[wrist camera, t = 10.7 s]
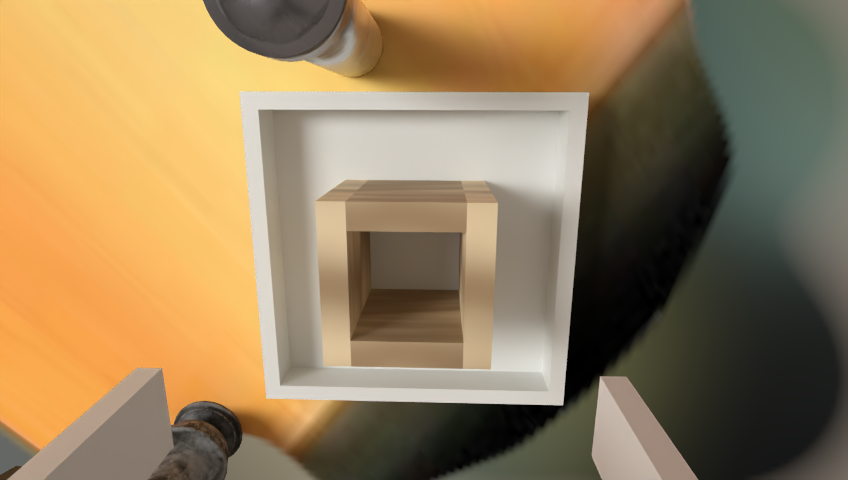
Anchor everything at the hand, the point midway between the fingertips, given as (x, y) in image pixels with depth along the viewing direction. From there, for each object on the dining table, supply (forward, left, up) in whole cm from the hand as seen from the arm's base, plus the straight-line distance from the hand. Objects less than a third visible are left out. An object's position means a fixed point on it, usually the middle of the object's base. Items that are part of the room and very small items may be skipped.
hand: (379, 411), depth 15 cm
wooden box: (0, 0, -19) cm, 19 cm away
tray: (0, 0, -19) cm, 19 cm away
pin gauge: (-13, -4, -19) cm, 24 cm away
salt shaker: (+15, -16, -20) cm, 29 cm away
